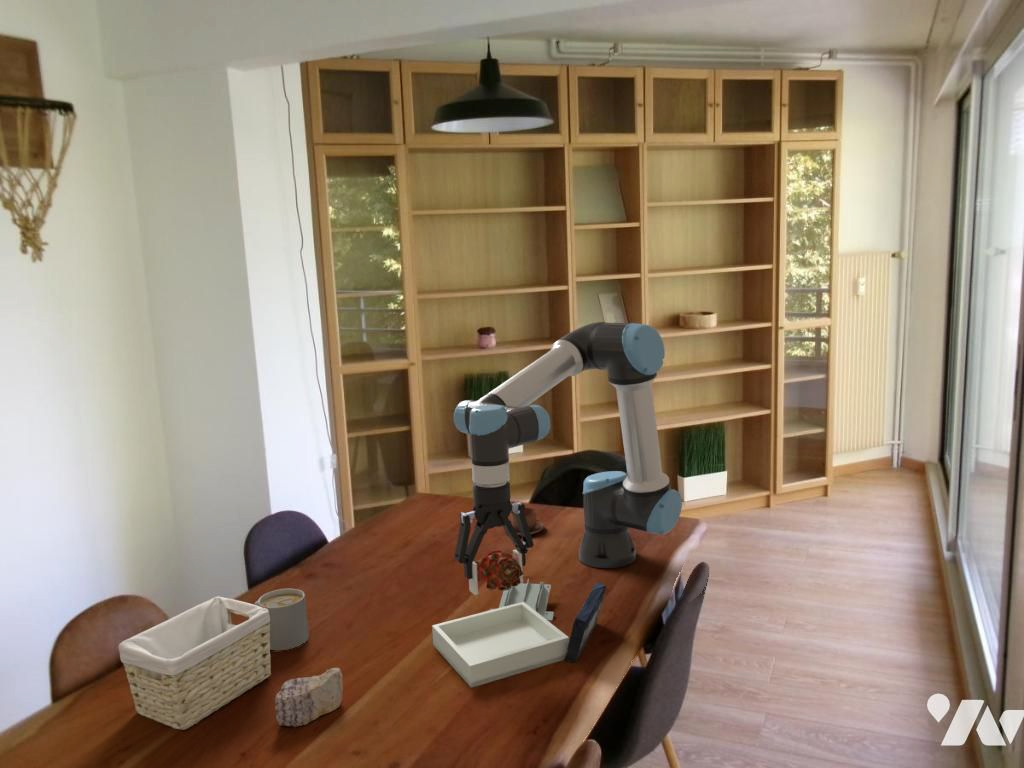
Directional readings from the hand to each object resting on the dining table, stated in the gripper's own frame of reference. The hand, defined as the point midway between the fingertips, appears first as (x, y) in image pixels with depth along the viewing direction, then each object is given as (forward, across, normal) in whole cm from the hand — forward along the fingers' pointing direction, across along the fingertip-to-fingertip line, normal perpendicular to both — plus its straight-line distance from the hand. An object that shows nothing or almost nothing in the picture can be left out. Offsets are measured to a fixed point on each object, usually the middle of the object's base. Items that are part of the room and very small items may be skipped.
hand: (496, 586), depth 170 cm
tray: (+14, 0, 0) cm, 14 cm away
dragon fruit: (0, 0, 0) cm, 0 cm away
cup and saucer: (+15, -38, -62) cm, 74 cm away
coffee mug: (+15, +39, -31) cm, 52 cm away
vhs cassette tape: (+15, -17, +5) cm, 23 cm away
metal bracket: (+15, -14, -16) cm, 26 cm away
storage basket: (+15, +57, -15) cm, 61 cm away
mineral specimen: (+15, +41, +2) cm, 43 cm away
